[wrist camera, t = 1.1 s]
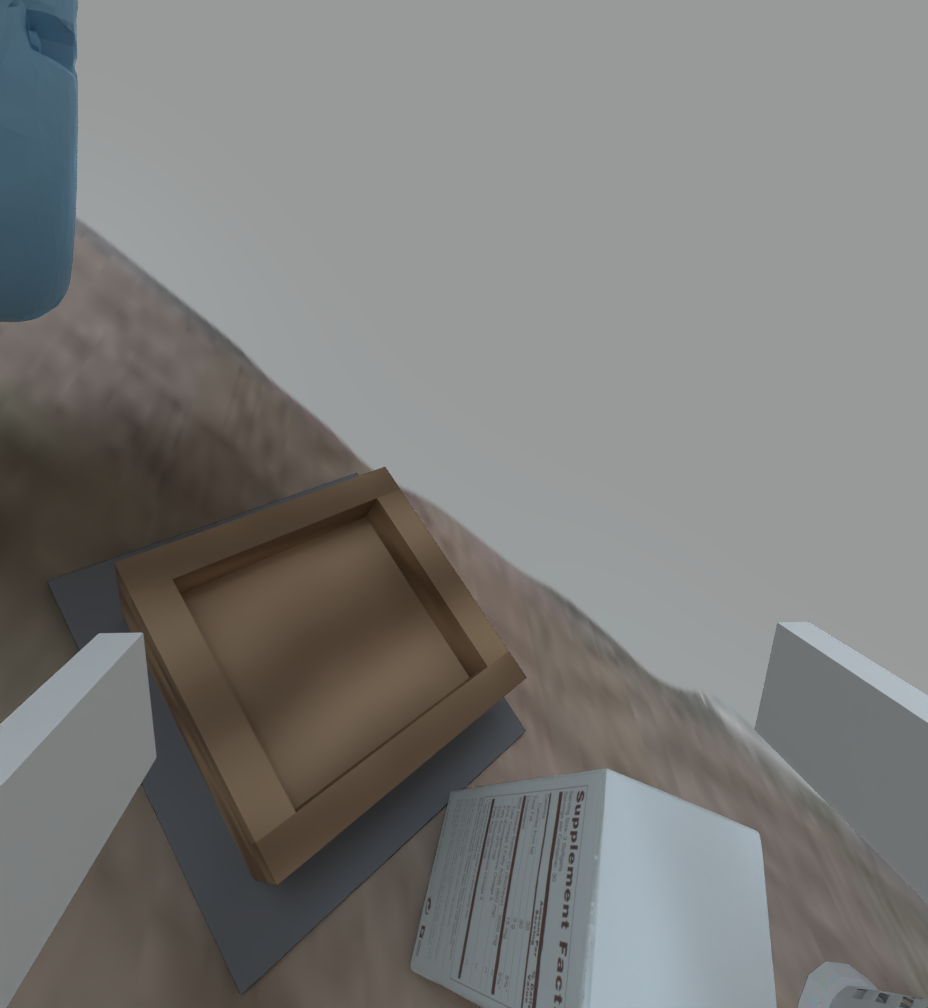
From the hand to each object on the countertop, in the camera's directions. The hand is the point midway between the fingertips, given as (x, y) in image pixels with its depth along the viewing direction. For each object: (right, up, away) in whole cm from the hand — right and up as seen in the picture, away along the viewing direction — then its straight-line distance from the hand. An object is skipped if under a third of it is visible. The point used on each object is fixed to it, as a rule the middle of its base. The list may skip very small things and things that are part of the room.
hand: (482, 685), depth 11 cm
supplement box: (+1, -15, +15) cm, 22 cm away
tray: (-8, -5, +17) cm, 19 cm away
